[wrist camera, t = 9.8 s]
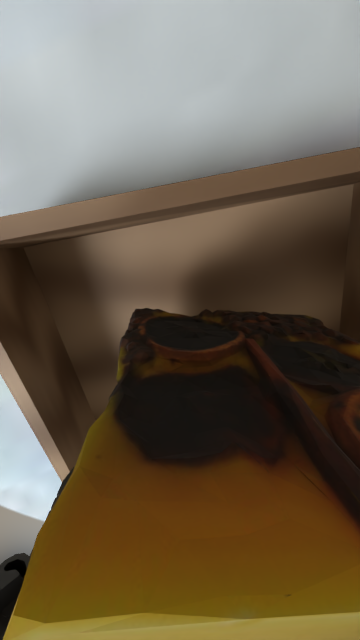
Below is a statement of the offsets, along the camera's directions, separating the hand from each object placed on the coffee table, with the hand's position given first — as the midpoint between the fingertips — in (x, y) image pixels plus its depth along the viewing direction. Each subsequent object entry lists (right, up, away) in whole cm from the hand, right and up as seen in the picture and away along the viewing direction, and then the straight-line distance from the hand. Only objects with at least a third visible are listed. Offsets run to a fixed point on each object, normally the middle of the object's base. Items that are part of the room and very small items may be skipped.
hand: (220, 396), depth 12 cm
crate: (0, +2, +5) cm, 5 cm away
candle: (0, 0, +1) cm, 1 cm away
